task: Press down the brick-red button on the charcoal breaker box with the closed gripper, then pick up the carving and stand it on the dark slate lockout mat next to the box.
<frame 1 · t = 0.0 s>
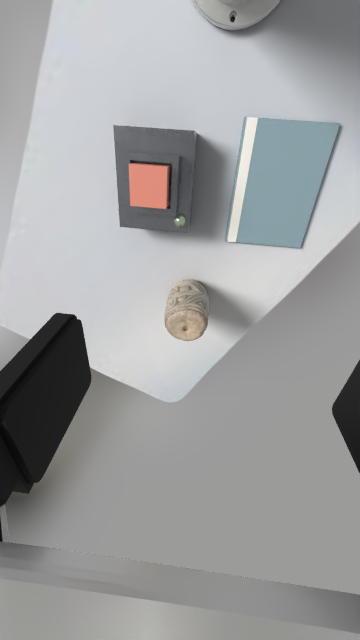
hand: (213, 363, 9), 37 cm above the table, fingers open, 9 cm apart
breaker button: (149, 186, 32), point 8 cm above the table, slide at 0.0 cm
lockout mat: (274, 189, 38), on the table
breaker box: (159, 180, 39), on the table
carving: (190, 290, 49), on the table
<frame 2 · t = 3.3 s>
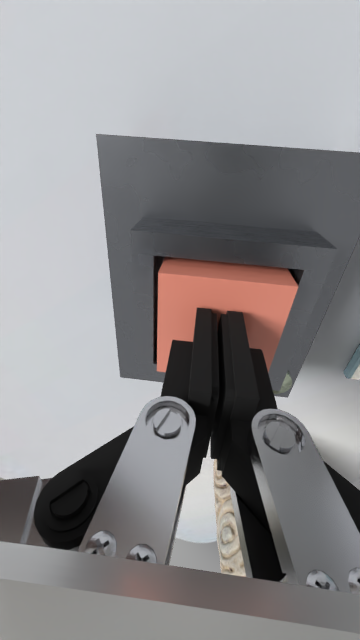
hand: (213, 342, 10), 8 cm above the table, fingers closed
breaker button: (217, 320, 11), point 7 cm above the table, slide at 1.1 cm, touching gripper
breaker box: (215, 260, 16), on the table
carving: (250, 435, 26), on the table
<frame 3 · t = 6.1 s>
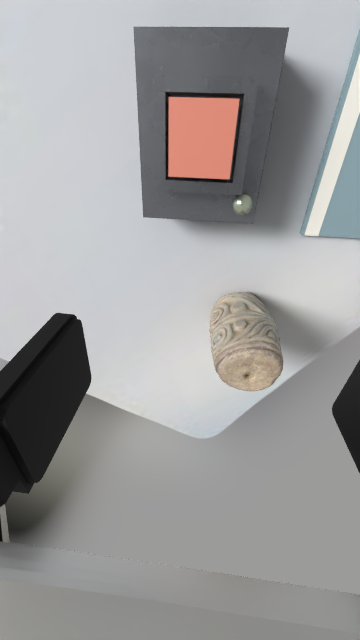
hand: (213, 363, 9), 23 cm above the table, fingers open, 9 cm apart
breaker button: (201, 140, 19), point 6 cm above the table, slide at 1.3 cm
breaker box: (204, 139, 24), on the table
carving: (238, 306, 34), on the table
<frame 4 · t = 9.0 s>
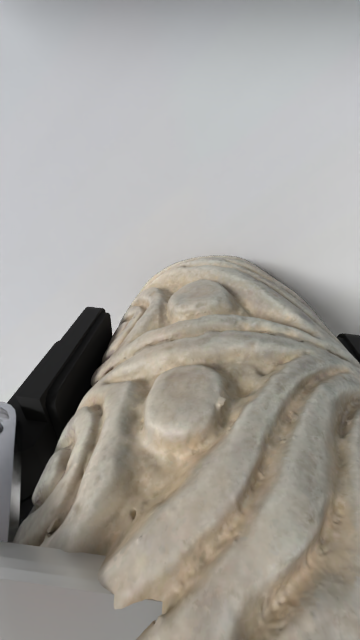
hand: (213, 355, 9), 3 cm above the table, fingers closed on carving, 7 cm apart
carving: (213, 304, 12), on the table, touching gripper
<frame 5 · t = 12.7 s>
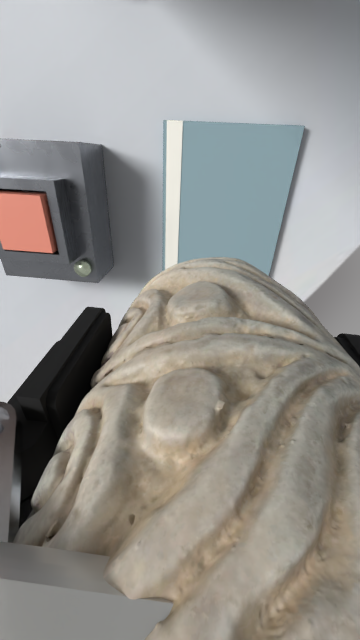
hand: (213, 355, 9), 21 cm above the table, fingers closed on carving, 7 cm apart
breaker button: (27, 221, 23), point 6 cm above the table, slide at 1.3 cm
lockout mat: (220, 219, 27), on the table
breaker box: (63, 209, 28), on the table
carving: (212, 305, 12), point 18 cm above the table, touching gripper
when the fingers open (5 cm above the table, at t = 16.6 s): carving drops 1 cm, resting on lockout mat.
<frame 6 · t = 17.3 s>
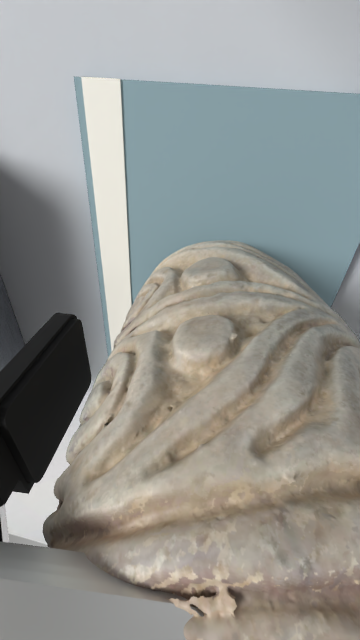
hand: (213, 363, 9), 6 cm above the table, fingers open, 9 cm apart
lockout mat: (212, 287, 14), on the table
carving: (216, 288, 13), resting on lockout mat
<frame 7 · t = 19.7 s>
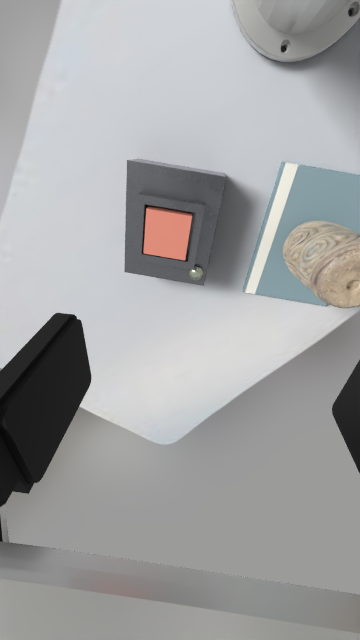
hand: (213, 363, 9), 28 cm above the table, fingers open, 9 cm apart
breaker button: (167, 233, 28), point 6 cm above the table, slide at 1.3 cm
lockout mat: (306, 242, 33), on the table
breaker box: (174, 220, 33), on the table
carving: (309, 242, 33), resting on lockout mat
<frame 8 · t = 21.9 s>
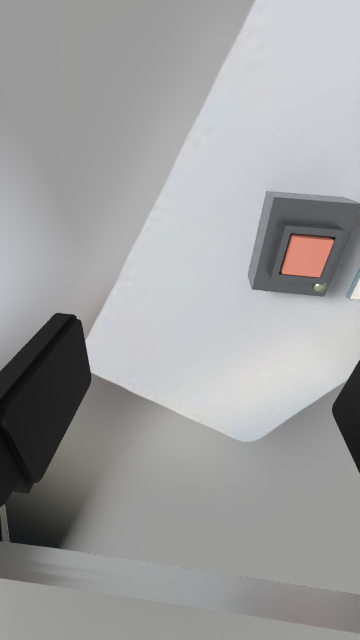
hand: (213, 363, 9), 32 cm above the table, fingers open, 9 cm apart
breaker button: (304, 255, 32), point 6 cm above the table, slide at 1.3 cm
breaker box: (291, 240, 37), on the table
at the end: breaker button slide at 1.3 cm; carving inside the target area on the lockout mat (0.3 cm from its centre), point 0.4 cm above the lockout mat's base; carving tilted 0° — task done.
